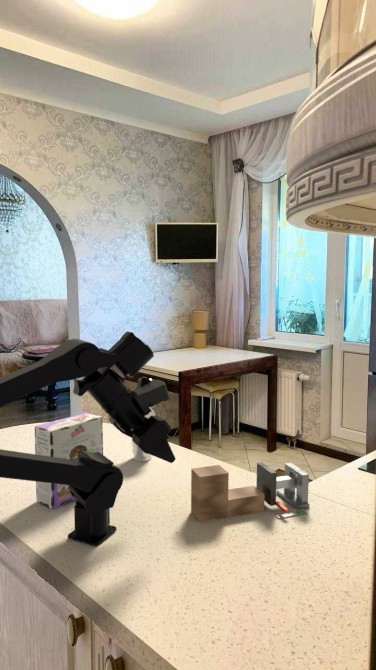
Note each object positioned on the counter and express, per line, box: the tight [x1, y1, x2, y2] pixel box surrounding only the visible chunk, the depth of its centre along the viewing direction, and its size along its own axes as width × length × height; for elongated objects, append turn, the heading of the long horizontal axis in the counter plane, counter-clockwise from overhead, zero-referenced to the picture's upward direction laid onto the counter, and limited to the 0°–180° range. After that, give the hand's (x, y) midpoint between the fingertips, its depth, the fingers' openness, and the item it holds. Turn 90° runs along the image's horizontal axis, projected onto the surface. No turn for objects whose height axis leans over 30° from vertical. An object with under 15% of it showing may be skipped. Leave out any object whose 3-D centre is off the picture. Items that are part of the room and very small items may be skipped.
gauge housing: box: [275, 462, 310, 520], centre depth 103 cm, size 8×10×7 cm
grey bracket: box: [255, 461, 297, 514], centre depth 103 cm, size 8×10×7 cm
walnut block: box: [190, 464, 265, 523], centre depth 100 cm, size 14×4×9 cm, turn 110°
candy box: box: [34, 412, 104, 510], centre depth 107 cm, size 14×6×16 cm, turn 141°
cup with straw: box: [130, 378, 157, 462], centre depth 129 cm, size 8×9×20 cm
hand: (164, 453), depth 96 cm, fingers open, 9 cm apart
